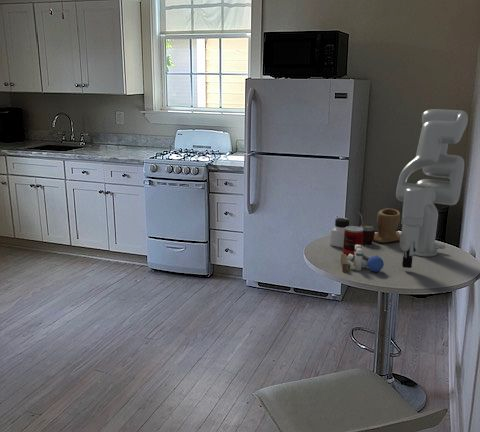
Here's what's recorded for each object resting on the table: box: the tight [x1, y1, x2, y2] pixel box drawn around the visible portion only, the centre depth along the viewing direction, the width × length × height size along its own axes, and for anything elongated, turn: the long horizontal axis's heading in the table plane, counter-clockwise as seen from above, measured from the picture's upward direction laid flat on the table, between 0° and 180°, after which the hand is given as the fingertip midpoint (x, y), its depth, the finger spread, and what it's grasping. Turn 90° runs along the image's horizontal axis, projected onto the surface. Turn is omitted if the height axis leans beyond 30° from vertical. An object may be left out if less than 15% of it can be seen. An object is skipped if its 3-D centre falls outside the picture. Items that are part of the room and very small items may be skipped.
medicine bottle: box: [329, 217, 350, 249], centre depth 224 cm, size 7×7×12 cm
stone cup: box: [373, 207, 401, 243], centre depth 232 cm, size 15×12×15 cm
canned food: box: [342, 225, 363, 256], centre depth 213 cm, size 8×8×11 cm
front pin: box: [347, 254, 368, 269], centre depth 197 cm, size 2×2×8 cm
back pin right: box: [353, 245, 361, 267], centre depth 199 cm, size 2×2×8 cm
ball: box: [367, 255, 385, 273], centre depth 193 cm, size 6×6×6 cm
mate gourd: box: [356, 210, 376, 246], centre depth 227 cm, size 8×8×15 cm
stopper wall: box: [340, 253, 349, 273], centre depth 198 cm, size 2×12×3 cm, turn 173°
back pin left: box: [354, 248, 364, 271], centre depth 194 cm, size 2×2×8 cm
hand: (406, 266), depth 195 cm, fingers closed
